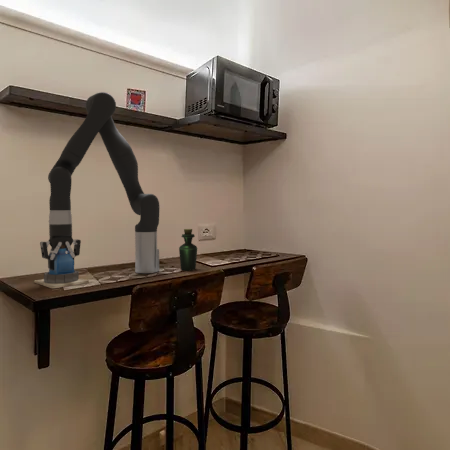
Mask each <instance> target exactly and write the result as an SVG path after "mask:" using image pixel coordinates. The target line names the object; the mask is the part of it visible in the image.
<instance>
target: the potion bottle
mask: <svg viewBox="0 0 450 450" xmlns="http://www.w3.org/2000/svg"><path fill="white" fill-rule="evenodd" d="M183 232H184V233H182V234H181V238H183V240H184V243H183V244H181V245H180V246H179V247H178V253H179V262H180V270H182V271H186V272H187V271H189V270H190V271H195V270H196V269H197V268H196V267H197V260H198V259H197V255H198V247H197V245H196V244H194V243H192V242H193V238H195V234H194V233H193V228H184V229H183Z"/></svg>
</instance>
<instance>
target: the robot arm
mask: <svg viewBox="0 0 450 450" xmlns="http://www.w3.org/2000/svg"><path fill="white" fill-rule="evenodd" d="M85 109H86V113H87V115H86V117H85V119H84V120H83V121H82V123H81V124H80V126H79V127H78V128H77V130H75V132H74V133H73V135H72V136H71V137H70V138H69V140H68V141H67V143H66V145H65V146H64V148H63V150H62V152H61V154H60V156H59V157H58V159H57V160H56V162H55V164H54V165H53V167H52V169H50V171H49V173H48V176H47V180H48V182H49V184H50V185H49V186H50V196H49V200H48V201H49V202H48V203H49V214H48V226H49V227H48V231H49V233H48V234H49V235H48V236H49V239H48V240H46V241H40V243H39V245H40V253H41V258H43V259H45V260H47V268H48V270H49V269H50V270H54V260H53V259H54V257H55V255H56V254H57V252H58V251H59V249H60V246H61V245H65V248H66V254H70V256H71V257H72V259H73V260H74V261H75V257H78V256H80V254H81V253H80V252H81V243H82V241H81V239H77V238H76V239H73V217H72V216H73V215H72V208H71V207H72V205H71V204H72V202H71V200H72V199H71V193H72V176H73V174H74V172H75V170H76V168H77V167H79V165H80V164H81V162H82V161H83V160H84V157H85V156H86V155H87V152H88V150H89V148H90V147H91V145H92V143H93V142H94V140H95V138H96V136H97V135H98V134H99V135H100V137H101V140H102V142H103V144H104V147H105V148H106V151H107V153H108V156H109V158H110V160H111V162H112V164H113V166H114V169H115V170H116V172H117V174H118V175H117V176H118V177H119V179H120V181H121V184H122V186H123V188H124V191H125V193H126V197H127V198H128V202H129V205H130V208H131V210H132V212H133V213H134V214H135V215H137V216H140V219H139V222H138V223H136V225H134V245H135V246H134V249H135V251H134V256H135V257H134V258H135V259H134V262H135V265H134V266H135V268H134V271H135V273H136V274H152V273H157V272H160V248H158V226H159V224H160V209H161V208H160V201H159V199H158V197H157V196H156V195H155V194H153V193H145V192H144V191H143V188H142V187H141V183H140V181H139V166H138V165H139V164H138V160H137V158H136V156H135V155H136V154H135V153H134V150H133V149H132V147H131V145H130V143H129V142H128V141H127V140H126V138H125V137H124V136H123V134H121V133H120V131H119V129H118V128H117V126H116V124H115V121H114V119H113V117H112V116H113V115H114V114H115V111H116V109H117V103H116V99H115V98H114V97H113V95H111V94H110V93H108V92H105V91H99V92H96V93H95V94H92V95H90V96H89V97H88V98H87V99H86V102H85ZM72 245H73V247H72ZM49 246H50V247H51V248H50V250H49V251H48V248H49Z"/></svg>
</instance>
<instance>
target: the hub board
mask: <svg viewBox="0 0 450 450" xmlns="http://www.w3.org/2000/svg"><path fill="white" fill-rule="evenodd" d="M79 276H80V275H79V270H75V269H74V273H69V274H60V275H52V274H49V271H46V272H44V273H43V278H42V279H37V280H36V279H35V280H34V281H33V283H35V284H37V285H41V286H44V287H46V288H50V289H58V288H63V287H64V288H65V287H72V286H75V285H76V286H77V285H82V284H83V285H84V284H89V282H90V280H88V279H86V278H85V279H84V278H81V277H79Z"/></svg>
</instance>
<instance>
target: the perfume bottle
mask: <svg viewBox="0 0 450 450" xmlns="http://www.w3.org/2000/svg"><path fill="white" fill-rule="evenodd" d="M53 260H54V270H50V269H49V268H48V272H49V274H52V275H60V274H69V273H74V270H75V259H74V260H73V259H72V257H71V256H70V254H67V252H66V248H65V245H61V246H60V249H59V251H58V252H57V254H56V255H55V257H54V259H53Z"/></svg>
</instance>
